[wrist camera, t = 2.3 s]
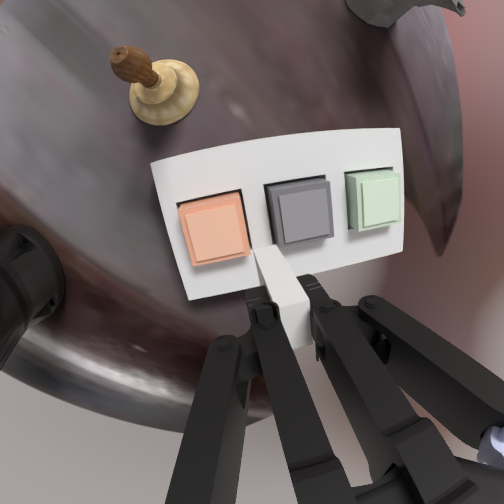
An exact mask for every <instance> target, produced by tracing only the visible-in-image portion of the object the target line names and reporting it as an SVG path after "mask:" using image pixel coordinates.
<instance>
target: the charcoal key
mask: <svg viewBox="0 0 504 504" xmlns="http://www.w3.org/2000/svg"><path fill="white" fill-rule="evenodd" d="M266 191H267V197H268V203H269V209H270V216H271V222H272V229H273V235H274V239H275V241H276V243H277V244H278V246H279V248H285V247H290V246H294V245H299V244H304V243H309V242H313V241H318V240H323V239H327V238H332V237H334V225H333V211H332V199H331V188H330V181H328V180H325V179H323V178H320V177H317V178H310V179H304V180H298V181H291V182H285V183H280V184H274V185H268V186H266Z"/></svg>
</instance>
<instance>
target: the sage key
mask: <svg viewBox="0 0 504 504" xmlns="http://www.w3.org/2000/svg"><path fill="white" fill-rule="evenodd" d="M344 179H345V191H346V205H347V222H348V225H350V226H351V227H353V228H354V229H355V230H357V231H358V232H360V231H365V230H370V229H374V228H379V227H384V226H388V225H393V224H398V223H401V175H400V172H397V171H393V170H389V169H380V170H371V171H362V172H354V173H346V174H344Z"/></svg>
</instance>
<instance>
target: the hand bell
mask: <svg viewBox="0 0 504 504" xmlns="http://www.w3.org/2000/svg"><path fill="white" fill-rule="evenodd" d="M109 60H110V61H111V67H112V70H113V72H114V73H115V75H116V76H117V77H118V78H120V79H122V80H123V81H126V82H129V83H132V84H131V87H130V91H129V102H130V106H131V108H132V110H133V112H134V114H135V115H136V116H137V117H138V118H139V119H140V120H142V121H143V122H145V123H148V124H151V125H168V124H172V123H175V122H177V121H179V120H180V119H182V118H183V117H185V116H186V115H187V114H188V113H189V112H190V111H191V110H192V108H193V107H194V105H195V104H196V101H197V99H198V96H199V81H198V78H197V75H196V74H195V72H194V71H193V70H192V69H191V68H190V67H189V66H188V65H187V64H185V63H183V62H181V61H177V60H170V59H168V60H160V61H156V62H154V63H152V62H151V60H150V58H149V56H148V55H147V54H146V53H145V52H144V51H143V50H141V49H140V48H137V47H132V46H131V47H126V46H117V47H115V48H114V49H113V50H112V51H111V52H110V55H109Z"/></svg>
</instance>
